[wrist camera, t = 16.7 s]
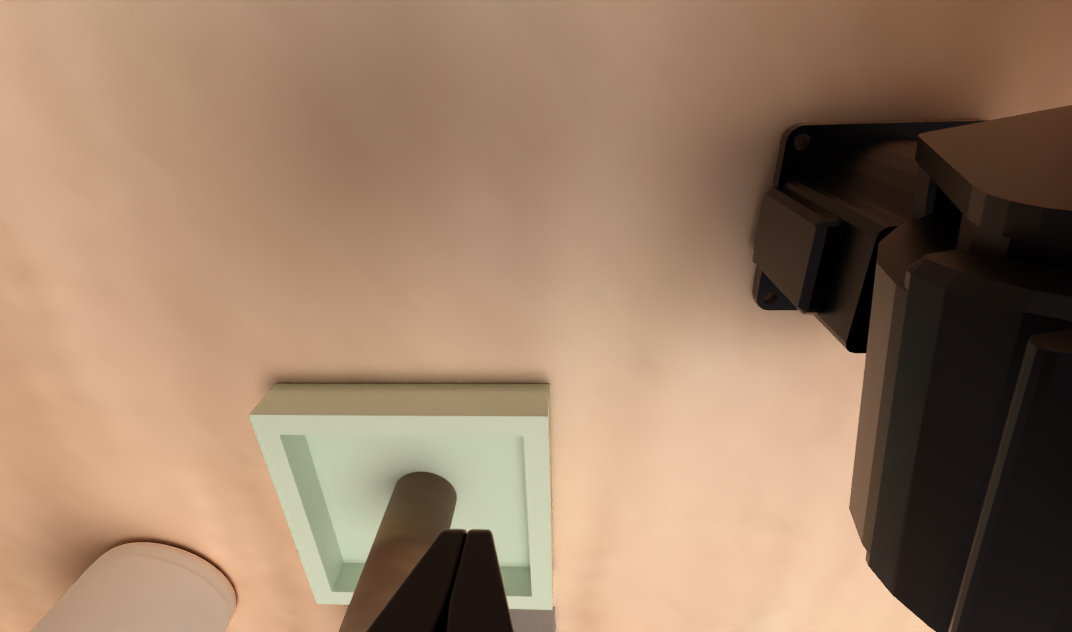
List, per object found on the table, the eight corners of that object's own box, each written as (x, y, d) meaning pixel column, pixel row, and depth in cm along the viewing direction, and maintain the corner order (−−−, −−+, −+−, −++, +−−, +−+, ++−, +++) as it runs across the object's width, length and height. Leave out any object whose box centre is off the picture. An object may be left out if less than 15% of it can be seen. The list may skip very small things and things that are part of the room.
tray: (549, 383, 21) (548, 416, 20) (553, 569, 27) (552, 609, 25) (276, 383, 22) (248, 414, 20) (334, 565, 28) (316, 603, 26)
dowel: (453, 471, 23) (413, 622, 17) (460, 517, 25) (426, 673, 18) (389, 471, 23) (327, 621, 17) (399, 517, 25) (345, 671, 19)
